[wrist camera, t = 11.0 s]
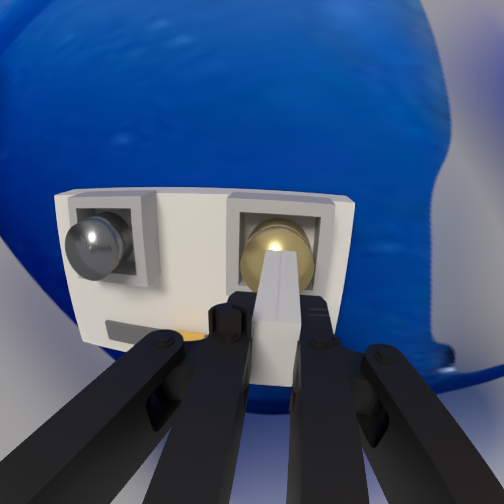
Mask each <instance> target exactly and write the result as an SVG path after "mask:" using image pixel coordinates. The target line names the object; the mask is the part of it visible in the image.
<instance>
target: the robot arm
mask: <svg viewBox="0 0 504 504" xmlns="http://www.w3.org/2000/svg"><path fill="white" fill-rule="evenodd" d="M208 322H209V335H208V337H207V338H204V339H201V340H194V341H184V339H183V336H182V335H181V334H180V333H179V332H177V331H174V330H169V329H159V330H156V331H152V332H150V333H149V334H147V335H146V336H145V337H143V338H142V339H141V340H140V341H139V342H138V343H136V344H135V345H134V346H133V347H132V348H131V349H129V350H128V351H127V352H126V353H125V354H124V355H122V356H121V357H120V358H119V359H118V360H117V361H115V362H114V363H113V364H112V365H111V366H110V367H109V368H107V369H106V370H105V371H104V372H103V373H102V374H100V375H99V376H98V377H97V378H96V379H95V380H93V381H92V382H91V383H90V384H89V385H88V386H86V387H85V388H84V389H83V390H82V391H81V392H80V393H79V394H77V395H76V396H75V397H74V398H73V399H71V400H70V401H69V402H68V403H67V404H66V405H65V406H63V407H62V408H61V409H60V410H59V411H58V412H57V413H55V414H54V415H53V416H52V417H51V418H50V419H49V420H47V421H46V422H45V423H44V424H43V425H42V426H40V428H38V429H37V430H36V431H35V432H34V433H32V434H31V435H30V436H29V437H28V438H27V439H26V440H24V441H23V442H22V443H21V444H20V445H19V446H18V447H16V448H15V449H14V450H13V451H12V452H11V453H10V454H8V455H7V456H6V457H5V458H4V459H3V460H2V461H1V462H0V504H110V503H111V502H112V500H113V499H114V498H115V497H116V496H117V494H118V493H119V492H120V491H121V490H122V488H123V487H124V486H125V484H127V482H128V481H129V480H130V479H131V477H132V476H133V475H134V474H135V473H136V471H137V470H138V469H139V468H140V466H141V465H142V464H143V463H144V461H145V460H146V459H147V458H148V456H149V455H150V453H151V452H152V451H153V450H154V449H155V447H156V446H157V445H158V443H159V442H160V441H161V440H162V438H163V437H164V436H165V435H166V433H167V432H168V431H169V429H170V428H171V427H172V428H171V430H170V433H169V436H168V438H167V441H166V443H165V446H164V448H163V451H162V454H161V456H160V459H159V461H158V464H157V467H156V469H155V472H154V475H153V477H152V479H151V482H150V485H149V488H148V490H147V493H146V495H145V498H144V501H143V503H142V504H229V500H230V495H231V490H232V484H233V479H234V474H235V468H236V463H237V457H238V451H239V446H240V440H241V434H242V429H243V422H244V417H245V411H246V405H247V399H248V391H249V384H260V385H272V386H287V387H292V382H293V387H292V393H291V399H290V404H289V410H288V411H290V439H289V440H290V441H289V463H288V483H287V499H286V504H369V496H368V488H367V480H366V474H365V466H364V459H363V453H362V448H363V450H364V452H365V454H366V456H367V458H368V460H369V463H370V465H371V467H372V469H373V471H374V473H375V475H376V477H377V480H378V482H379V484H380V486H381V488H382V490H383V492H384V495H385V497H386V499H387V501H388V503H389V504H504V489H503V487H502V485H501V484H500V482H499V481H498V479H497V478H496V477H495V475H494V474H493V472H492V471H491V469H490V468H489V466H488V465H487V464H486V462H485V461H484V459H483V458H482V456H481V455H480V453H479V452H478V451H477V449H476V448H475V446H474V445H473V444H472V442H471V441H470V440H469V438H468V437H467V436H466V434H465V433H464V431H463V430H462V429H461V427H460V426H459V425H458V423H456V421H455V419H454V418H453V417H452V415H451V414H450V413H449V411H448V410H447V409H446V408H445V406H444V405H443V404H442V402H441V401H440V400H439V398H438V397H437V396H436V395H435V393H434V392H433V391H432V389H431V388H430V387H429V386H428V384H427V383H426V382H425V381H424V379H423V378H422V377H421V376H420V374H419V373H418V372H417V371H416V369H415V368H414V367H413V366H412V364H411V363H410V362H409V361H408V360H407V358H406V357H405V356H404V355H403V353H402V352H401V351H399V350H398V349H397V348H395V347H393V346H391V345H387V344H374V345H371V346H369V347H368V348H367V349H366V350H365V353H360V352H356V351H352V350H349V349H346V348H344V347H342V344H341V341H340V339H339V338H338V337H337V336H336V335H334V333H333V329H332V324H331V320H330V316H329V311H328V306H327V302H326V301H325V300H324V299H323V298H322V297H321V296H314V295H299V283H298V270H297V258H296V251H281V250H266V252H265V258H264V263H263V268H262V273H261V278H260V283H259V287H258V292H244V291H235V292H234V293H233V294H231V295H230V296H229V298H228V300H227V303H221V304H217V305H215V306H213V307H211V308H210V309H209V311H208Z"/></svg>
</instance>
